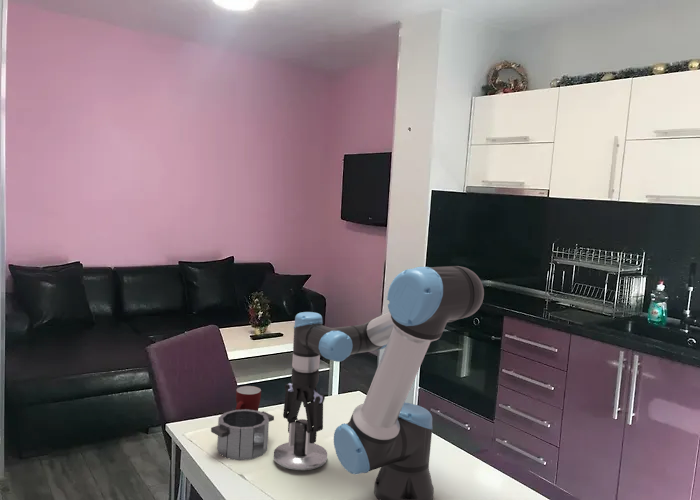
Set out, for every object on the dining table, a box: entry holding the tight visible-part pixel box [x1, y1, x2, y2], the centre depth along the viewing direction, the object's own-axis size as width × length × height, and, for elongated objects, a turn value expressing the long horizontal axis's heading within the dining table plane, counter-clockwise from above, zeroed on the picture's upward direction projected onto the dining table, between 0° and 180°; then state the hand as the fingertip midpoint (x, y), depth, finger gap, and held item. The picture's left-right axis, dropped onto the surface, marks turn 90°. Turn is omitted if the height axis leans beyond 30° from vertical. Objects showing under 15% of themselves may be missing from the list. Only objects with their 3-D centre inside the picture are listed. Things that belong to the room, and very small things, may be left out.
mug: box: [235, 385, 262, 411], centre depth 186 cm, size 10×8×10 cm
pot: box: [210, 409, 275, 461], centre depth 166 cm, size 14×19×9 cm
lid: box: [273, 418, 328, 471], centre depth 160 cm, size 15×15×12 cm
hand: (301, 448), depth 160 cm, fingers open, 6 cm apart
